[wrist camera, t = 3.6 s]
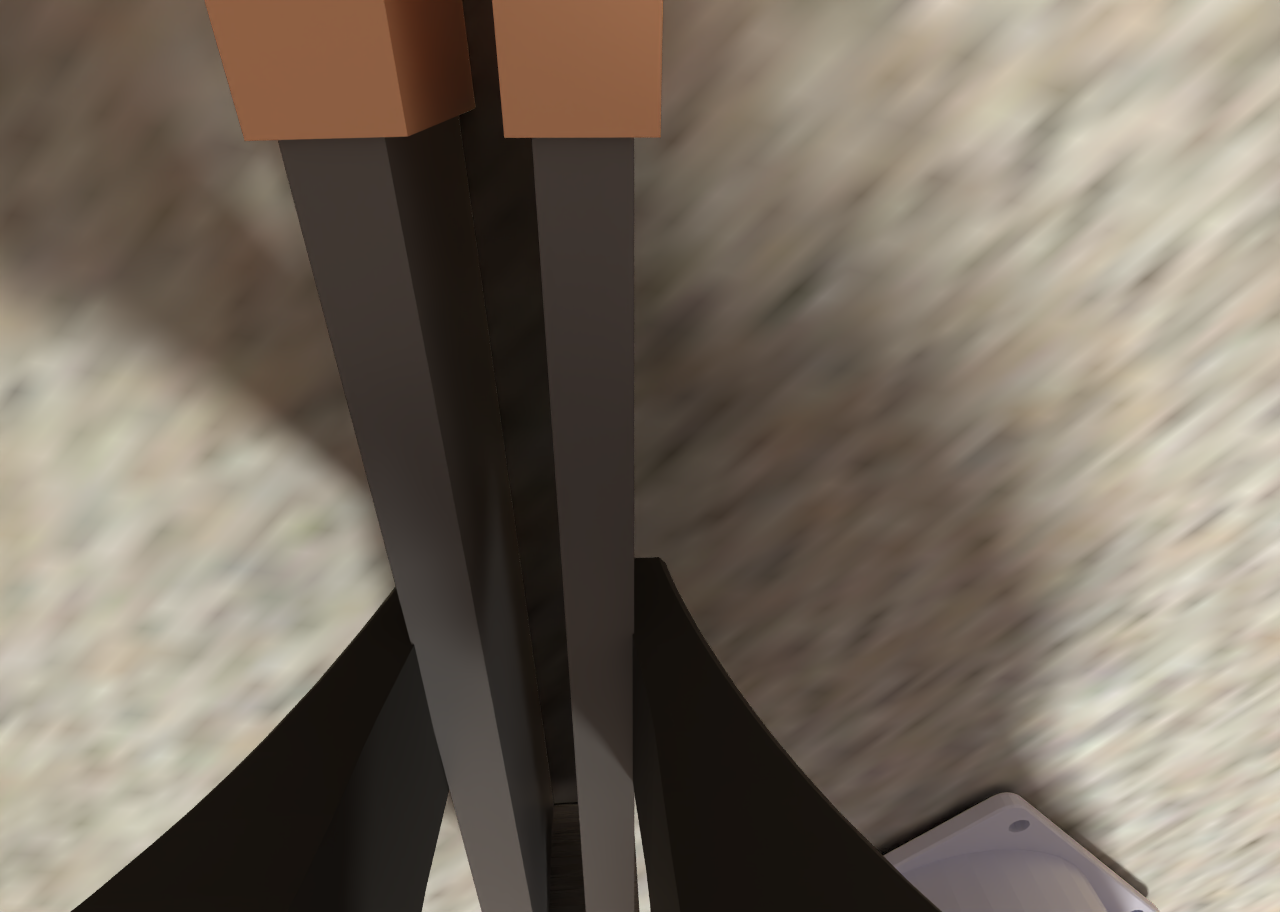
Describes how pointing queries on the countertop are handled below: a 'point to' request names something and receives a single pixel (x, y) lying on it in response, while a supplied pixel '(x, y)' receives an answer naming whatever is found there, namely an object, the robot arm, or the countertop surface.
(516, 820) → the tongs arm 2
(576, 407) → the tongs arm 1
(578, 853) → the tongs hub
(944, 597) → the countertop surface
